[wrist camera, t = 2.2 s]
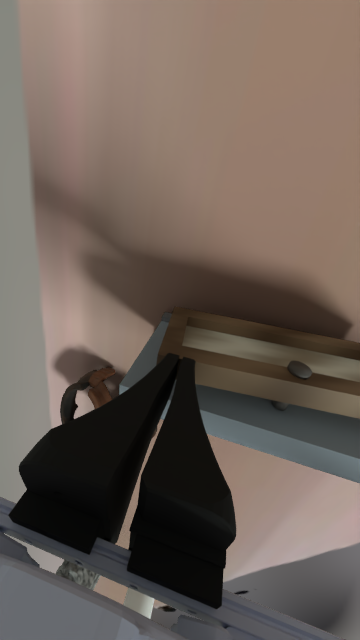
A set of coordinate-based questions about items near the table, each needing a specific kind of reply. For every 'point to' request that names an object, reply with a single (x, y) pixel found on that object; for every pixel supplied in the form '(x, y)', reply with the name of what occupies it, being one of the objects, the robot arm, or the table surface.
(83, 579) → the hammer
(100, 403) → the pottery mug
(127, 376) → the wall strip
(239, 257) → the table surface
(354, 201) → the table surface
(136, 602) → the bottle
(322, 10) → the table surface
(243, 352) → the brown rectangular panel
